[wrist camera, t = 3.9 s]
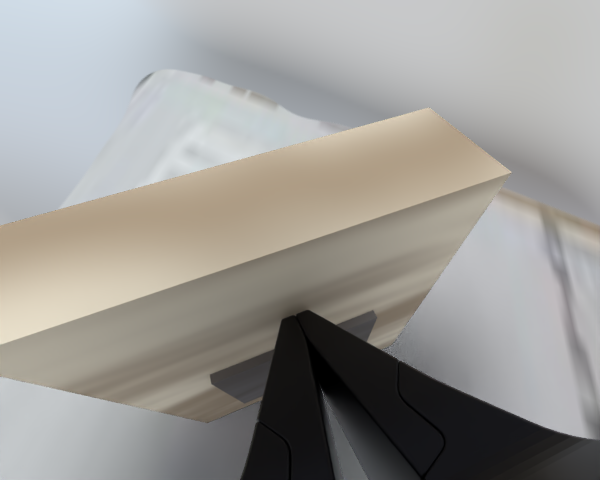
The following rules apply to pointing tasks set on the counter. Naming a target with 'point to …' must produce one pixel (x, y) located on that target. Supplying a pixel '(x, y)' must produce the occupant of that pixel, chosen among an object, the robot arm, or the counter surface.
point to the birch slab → (237, 264)
